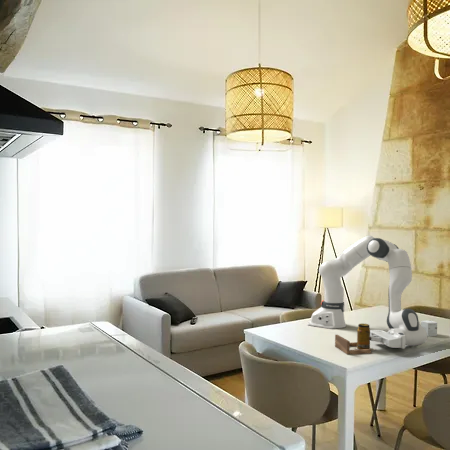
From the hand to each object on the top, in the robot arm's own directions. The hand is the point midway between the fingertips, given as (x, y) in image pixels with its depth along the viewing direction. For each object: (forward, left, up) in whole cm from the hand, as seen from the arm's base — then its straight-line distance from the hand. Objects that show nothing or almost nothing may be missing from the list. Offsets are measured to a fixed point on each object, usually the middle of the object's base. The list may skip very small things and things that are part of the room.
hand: (369, 338), depth 233 cm
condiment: (-2, -2, -5) cm, 6 cm away
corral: (-7, -5, -5) cm, 10 cm away
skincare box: (+27, +43, -5) cm, 51 cm away
